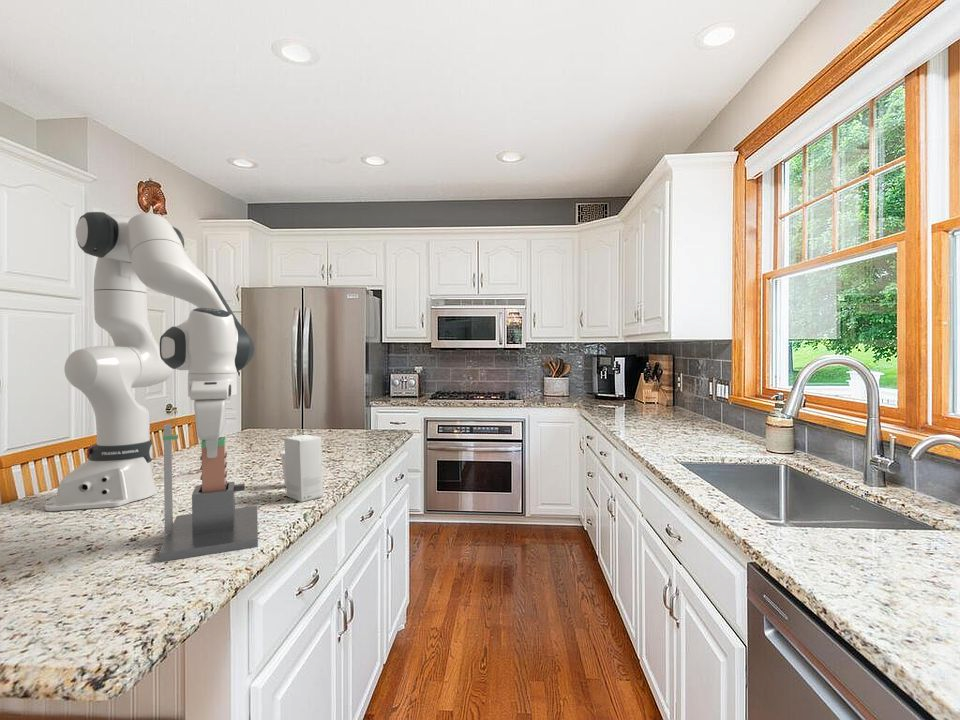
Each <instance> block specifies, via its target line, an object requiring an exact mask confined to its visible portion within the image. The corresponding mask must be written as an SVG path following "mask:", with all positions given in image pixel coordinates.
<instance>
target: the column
mask: <svg viewBox="0 0 960 720" xmlns="http://www.w3.org/2000/svg"><path fill="white" fill-rule="evenodd" d="M226 440H227V439H226V436H220V438H218V445H217V457H215V458H208V457H207V448H206V442H205V440H200V441H201V443H200V444H201V445H200V447H201V455H200V458H199V461H201V465H200V466H199V467H200V471H201V475H200V479H199V480H200V481H201V484H200V485H201V487H200V490H202V492H210V491H220V490H226V487H227V482H228V480H227V476H228V470H227V466H228V461H226V460H227V456H228V452H226V442H227V441H226Z"/></svg>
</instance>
